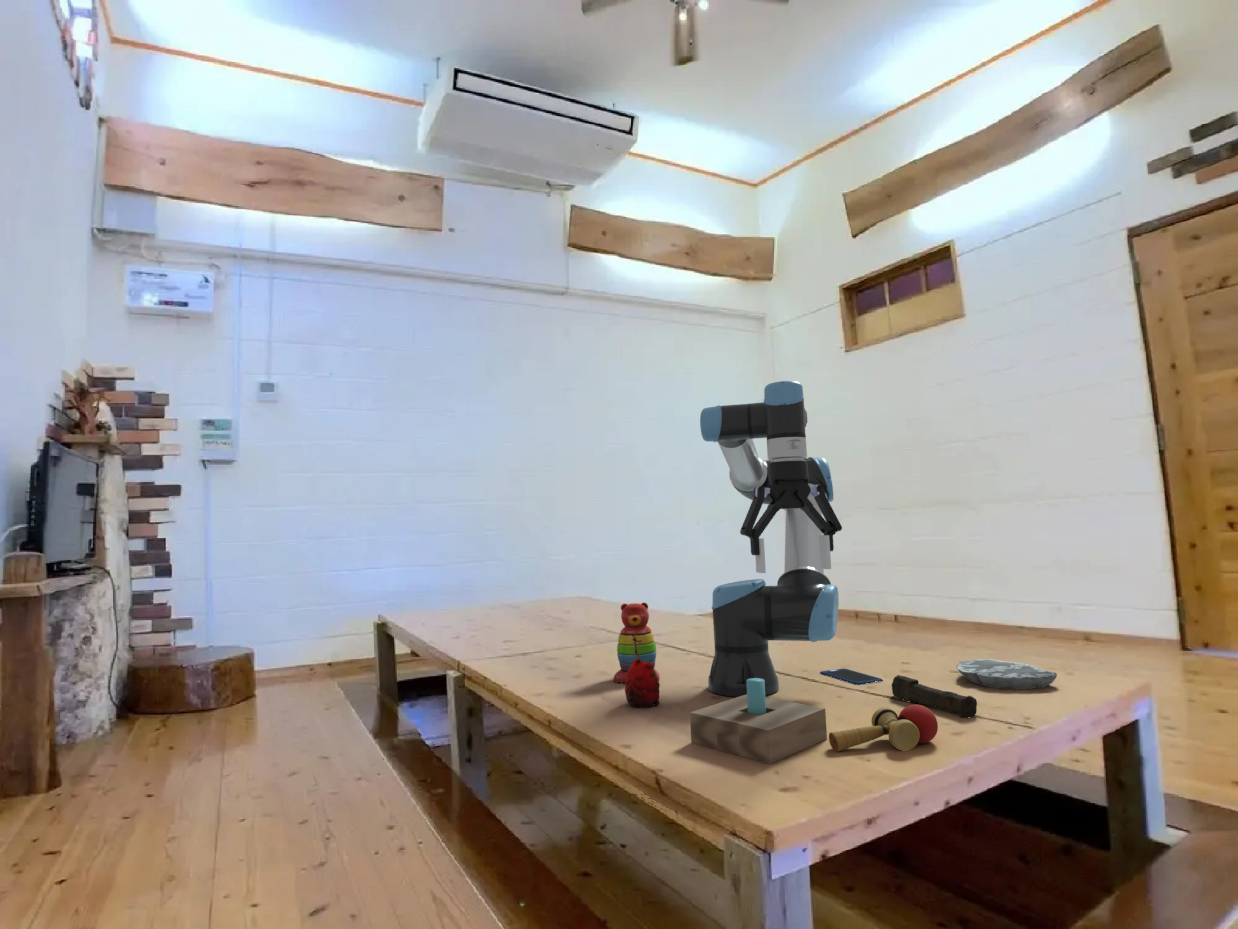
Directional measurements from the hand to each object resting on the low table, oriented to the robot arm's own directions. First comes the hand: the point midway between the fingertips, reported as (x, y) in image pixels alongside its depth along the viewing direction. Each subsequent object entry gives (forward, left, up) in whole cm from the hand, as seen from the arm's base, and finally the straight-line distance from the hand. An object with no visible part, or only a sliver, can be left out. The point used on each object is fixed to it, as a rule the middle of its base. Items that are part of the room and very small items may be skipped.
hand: (793, 571), depth 137 cm
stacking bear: (-46, +1, -27) cm, 53 cm away
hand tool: (+16, +18, -27) cm, 36 cm away
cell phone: (-8, +32, -27) cm, 43 cm away
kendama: (+21, -8, -27) cm, 35 cm away
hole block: (+4, -19, -27) cm, 33 cm away
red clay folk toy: (-28, -15, -27) cm, 42 cm away
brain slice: (+19, +47, -27) cm, 58 cm away
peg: (+4, -19, -27) cm, 33 cm away
